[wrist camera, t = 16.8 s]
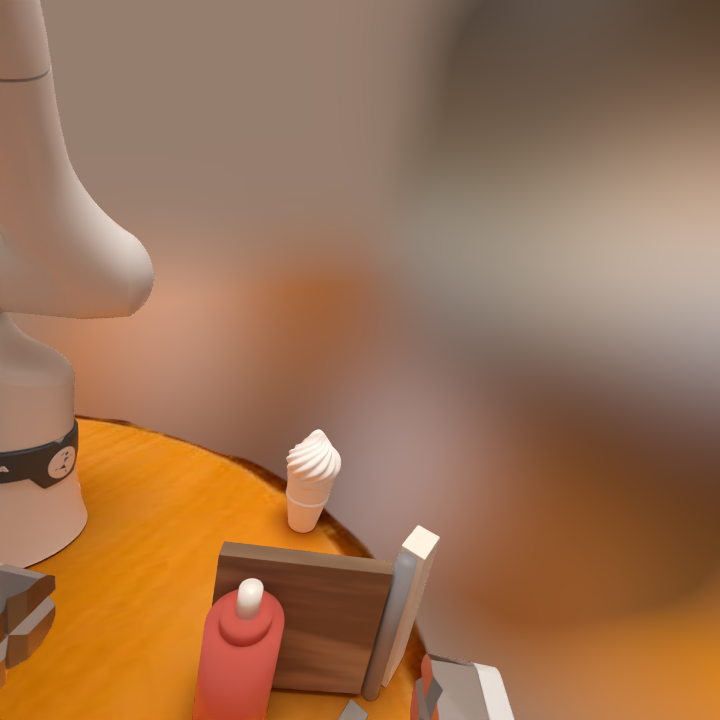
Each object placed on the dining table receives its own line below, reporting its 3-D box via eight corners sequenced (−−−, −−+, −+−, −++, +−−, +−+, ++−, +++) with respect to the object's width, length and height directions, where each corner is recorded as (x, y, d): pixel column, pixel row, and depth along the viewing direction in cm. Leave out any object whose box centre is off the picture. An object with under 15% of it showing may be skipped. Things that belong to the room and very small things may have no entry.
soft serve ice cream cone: (327, 546, 54) (348, 450, 50) (270, 539, 53) (288, 441, 49) (327, 509, 62) (346, 424, 58) (278, 503, 61) (294, 415, 57)
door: (212, 648, 37) (229, 528, 33) (357, 661, 38) (388, 548, 35) (201, 682, 34) (219, 554, 30) (359, 694, 36) (393, 574, 32)
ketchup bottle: (200, 797, 27) (224, 642, 24) (181, 714, 32) (198, 573, 28) (274, 744, 31) (304, 603, 27) (248, 677, 35) (271, 548, 32)
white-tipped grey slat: (213, 915, 23) (247, 734, 19) (384, 642, 42) (418, 525, 38) (238, 957, 21) (280, 773, 18) (402, 657, 40) (439, 537, 37)
